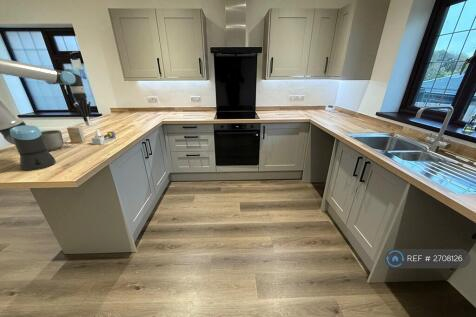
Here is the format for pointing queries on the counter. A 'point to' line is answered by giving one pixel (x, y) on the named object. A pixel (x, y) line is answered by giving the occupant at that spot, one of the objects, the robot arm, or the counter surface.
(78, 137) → the supplement box
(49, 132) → the planter
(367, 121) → the counter surface
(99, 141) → the cord rig
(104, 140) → the marker sleeve
